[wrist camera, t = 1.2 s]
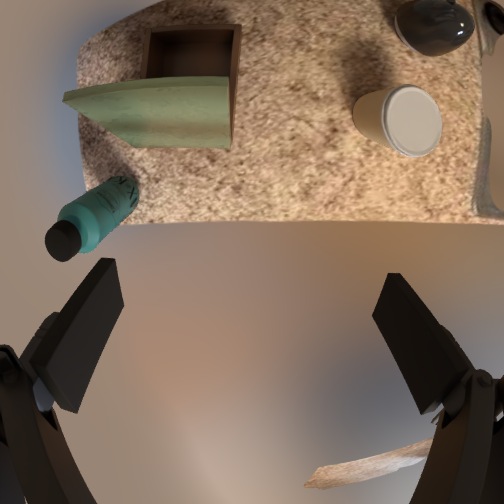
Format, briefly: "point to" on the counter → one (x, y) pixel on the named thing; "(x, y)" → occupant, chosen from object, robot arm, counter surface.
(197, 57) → the brown wooden box
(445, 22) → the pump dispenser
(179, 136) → the lid
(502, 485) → the robot arm
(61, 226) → the beverage bottle
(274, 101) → the counter surface
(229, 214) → the counter surface
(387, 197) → the counter surface
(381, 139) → the coffee cup
